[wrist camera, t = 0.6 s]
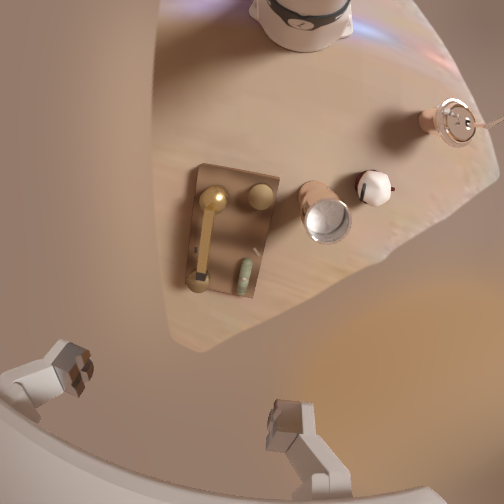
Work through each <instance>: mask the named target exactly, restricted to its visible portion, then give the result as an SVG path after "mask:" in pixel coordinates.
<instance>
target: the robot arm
mask: <svg viewBox="0 0 504 504" xmlns="http://www.w3.org/2000/svg"><path fill="white" fill-rule="evenodd" d="M256 6H257V7H256ZM249 14H250V16H251V17H253V18H254V19H255V20H257V21H258V22H259V23H260V24H261V26H262V27H263V29H264V31H265V33H266V34H267V35H268V37H269V38H270V39H271V40H273V41H274V42H275V43H277V44H278V45H280V46H282V47H284V48H286V49H289V50H293V51H298V52H313V51H318V50H321V49H324V48H326V47H328V46H329V45H331V44H332V43H333V42H335V41H336V40H338V39H342V38H346V37H349V36H351V35H352V33H353V25H352V14H351V5H350V0H254V1H253V3H252V5H251V6H250V8H249ZM347 26H348V27H347ZM90 356H91V355H90V351H89V350H87V349H85V348H82V347H80V346H78V345H76V344H73V343H71V342H69V341H67V340H65V339H59V340H58V341H57V342H56V344H55V345H54V346H53V347H52V349H51V350H50V351H49V352H48V353H47V354H46V356H45V357H44V358H43V359H42V360H41V359H38V360H36V361H33V362H30V363H27V364H25V365H22V366H19V367H17V368H14V369H11V370H8V371H6V372H3V373H2V374H1V376H0V504H447V503H446V501H445V500H444V499H443V498H441V497H440V496H439V495H438V494H437V493H436V492H434V491H433V490H432V489H431V488H429V487H427V486H418V487H414V488H410V489H406V490H401V491H396V492H390V493H385V494H378V495H372V496H364V497H355V498H353V496H352V487H351V477H350V472H349V470H347V468H346V467H345V466H344V465H343V463H342V462H341V461H340V460H339V459H338V458H337V456H336V455H335V454H334V453H333V452H332V451H331V449H330V448H329V447H328V446H327V444H326V443H325V442H324V441H323V439H322V438H321V437H320V436H319V435H316V432H315V419H314V408H313V404H312V403H309V402H300V401H291V400H281V399H276V400H275V402H274V408H273V409H271V411H270V413H269V417H268V422H267V430H268V431H269V434H268V435H267V437H266V451H274V452H282V453H286V456H287V458H288V459H289V461H290V463H291V464H292V466H293V467H294V469H295V471H296V472H297V474H298V476H299V477H300V479H301V480H302V482H303V484H302V485H301V486H300V487H299V488H297V489H296V490H295V491H294V492H293V493H292V500H278V499H263V498H252V497H243V496H236V495H228V494H222V493H216V492H211V491H206V490H201V489H196V488H191V487H187V486H183V485H179V484H175V483H171V482H168V481H164V480H161V479H157V478H154V477H151V476H148V475H145V474H142V473H139V472H136V471H133V470H130V469H127V468H125V467H122V466H120V465H117V464H115V463H112V462H110V461H107V460H105V459H102V458H100V457H98V456H96V455H94V454H91V453H89V452H87V451H85V450H83V449H81V448H79V447H77V446H75V445H73V444H71V443H69V442H67V441H65V440H64V439H62V438H60V437H58V436H56V435H55V434H53V433H51V432H49V431H48V430H46V429H44V428H43V427H41V426H40V425H38V423H39V421H40V420H41V416H40V415H39V413H38V412H37V410H36V408H38V407H39V406H41V405H43V404H45V403H46V402H48V401H50V400H52V399H53V398H55V397H57V396H59V395H60V394H62V393H64V391H65V392H67V393H69V394H71V395H73V396H75V397H78V398H79V397H80V395H81V394H82V392H83V390H84V389H85V385H84V383H86V382H88V381H89V380H90V379H91V377H92V375H93V371H94V366H93V362H92V361H91V360H90V359H89V357H90Z"/></svg>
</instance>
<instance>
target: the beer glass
mask: <svg viewBox="0 0 504 504" xmlns="http://www.w3.org/2000/svg"><path fill="white" fill-rule="evenodd" d="M298 201H299V204H300V216H301V221H302V223H303V226H304V228H305V229H306V232H307V234H308V235H309V236H310V238H311V239H313V240H314V241H316V242H318V243H320V244H334V243H337V242H339V241H341V240H342V239H343V238H344V237H345V236H346V235H347V234H348V232H349V230H350V228H351V224H352V217H351V213H350V210H349V209H348V207H347V206H346V204H345V202H344V201H343V199H342V198H341V197H340V196H339V195H338V194H337V193H335V192H334V191H332V190H329V188H328V187H327V186H326V185H325V184H324V183H322V182H320V181H309V182H307V183H305V184H304V185H303V186H302V187H301V188H300V190H299V193H298Z"/></svg>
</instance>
